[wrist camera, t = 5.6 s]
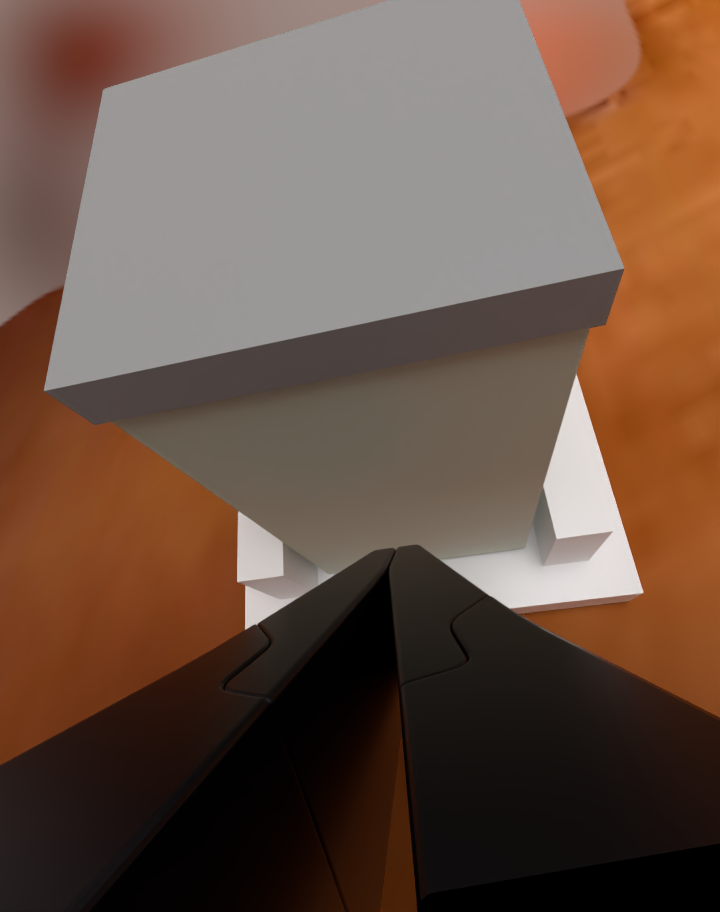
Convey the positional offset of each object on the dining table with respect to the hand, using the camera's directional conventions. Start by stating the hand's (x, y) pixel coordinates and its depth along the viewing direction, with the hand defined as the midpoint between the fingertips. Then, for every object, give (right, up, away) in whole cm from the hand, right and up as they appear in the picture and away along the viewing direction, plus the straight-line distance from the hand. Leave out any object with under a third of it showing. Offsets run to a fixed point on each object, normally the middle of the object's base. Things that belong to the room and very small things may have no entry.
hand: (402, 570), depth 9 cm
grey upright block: (+1, +1, +6) cm, 7 cm away
